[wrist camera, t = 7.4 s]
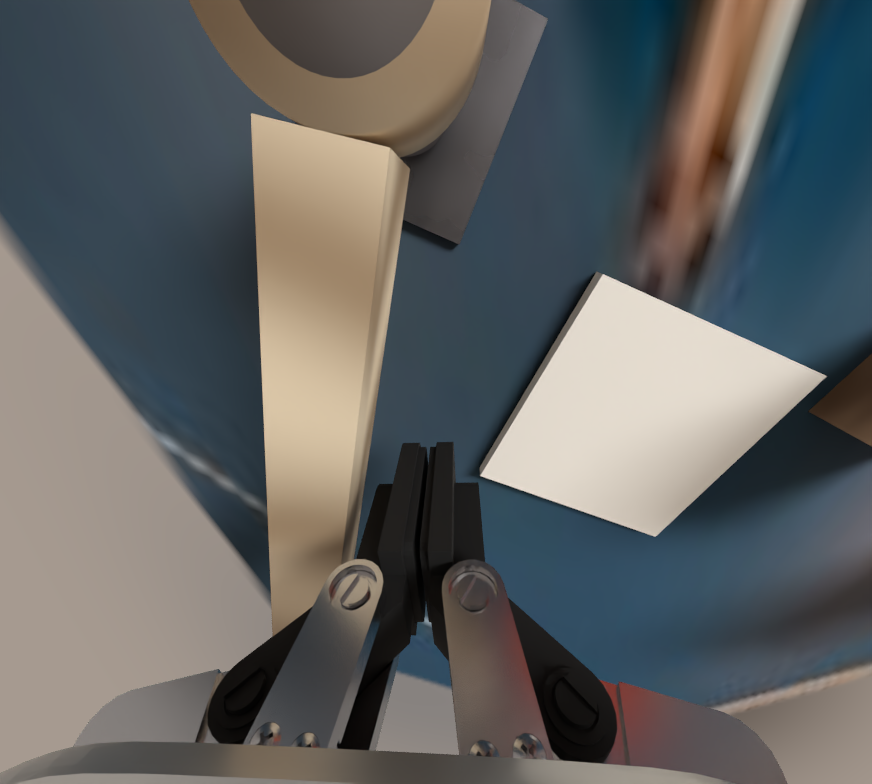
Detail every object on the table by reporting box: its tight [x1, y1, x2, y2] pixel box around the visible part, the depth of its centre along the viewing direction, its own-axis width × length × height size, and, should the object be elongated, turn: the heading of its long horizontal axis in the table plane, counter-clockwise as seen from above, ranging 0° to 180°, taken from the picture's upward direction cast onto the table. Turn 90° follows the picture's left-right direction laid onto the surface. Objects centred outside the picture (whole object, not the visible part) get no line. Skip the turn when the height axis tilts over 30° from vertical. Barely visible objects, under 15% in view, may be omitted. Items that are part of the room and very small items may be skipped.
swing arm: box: [189, 0, 491, 636], centre depth 10 cm, size 20×4×6 cm, turn 168°
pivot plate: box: [298, 0, 548, 244], centre depth 10 cm, size 6×6×1 cm
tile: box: [480, 272, 827, 537], centre depth 15 cm, size 10×10×1 cm
